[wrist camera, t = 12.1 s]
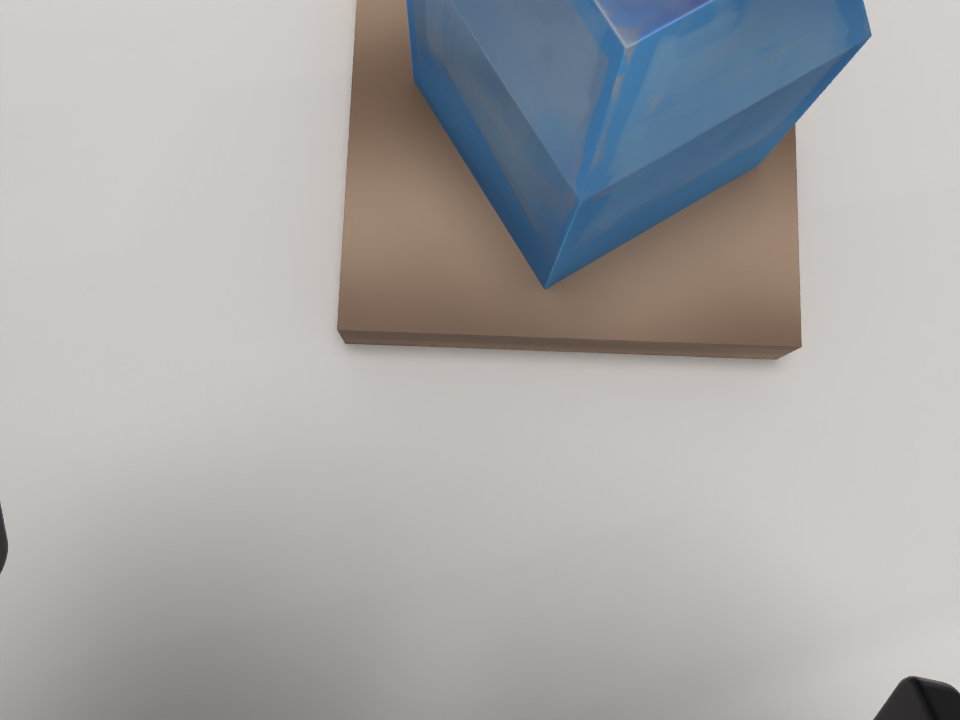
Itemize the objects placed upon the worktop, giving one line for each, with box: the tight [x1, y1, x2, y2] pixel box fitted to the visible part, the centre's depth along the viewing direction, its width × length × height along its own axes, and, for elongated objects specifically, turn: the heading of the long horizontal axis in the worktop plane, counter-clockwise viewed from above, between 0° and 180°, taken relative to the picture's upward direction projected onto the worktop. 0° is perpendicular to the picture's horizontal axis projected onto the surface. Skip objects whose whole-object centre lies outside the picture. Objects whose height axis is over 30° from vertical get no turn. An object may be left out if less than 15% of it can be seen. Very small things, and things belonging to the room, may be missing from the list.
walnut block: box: [337, 0, 802, 359], centre depth 24 cm, size 11×11×2 cm
